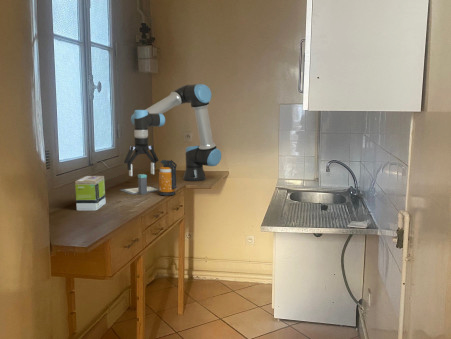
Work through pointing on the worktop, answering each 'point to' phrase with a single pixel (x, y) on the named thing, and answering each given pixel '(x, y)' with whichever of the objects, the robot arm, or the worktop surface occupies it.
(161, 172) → the canister
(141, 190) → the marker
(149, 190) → the paper
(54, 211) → the worktop surface
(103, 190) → the tea box
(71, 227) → the worktop surface
